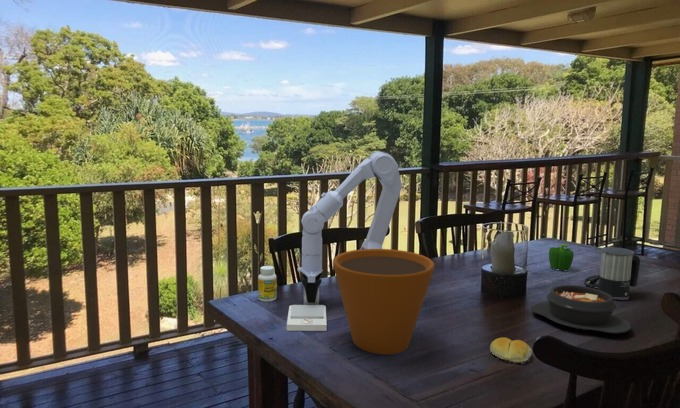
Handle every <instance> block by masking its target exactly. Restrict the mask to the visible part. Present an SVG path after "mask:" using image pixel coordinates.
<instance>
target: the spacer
mask: <svg viewBox="0 0 680 408" xmlns="http://www.w3.org/2000/svg"><path fill="white" fill-rule="evenodd" d="M303 305H320V287H319V288H318V291H317V296H316V301H315V303H308V302H307V298H306V292H305V288H304V287H303Z"/></svg>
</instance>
